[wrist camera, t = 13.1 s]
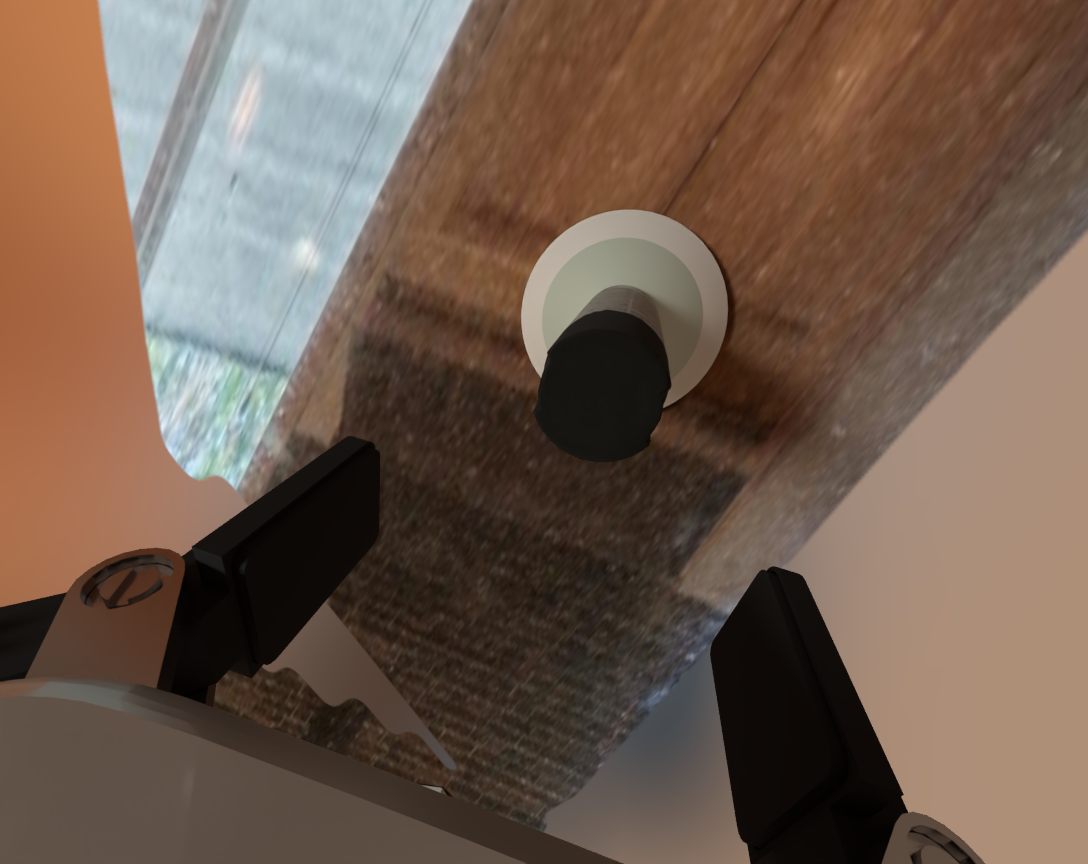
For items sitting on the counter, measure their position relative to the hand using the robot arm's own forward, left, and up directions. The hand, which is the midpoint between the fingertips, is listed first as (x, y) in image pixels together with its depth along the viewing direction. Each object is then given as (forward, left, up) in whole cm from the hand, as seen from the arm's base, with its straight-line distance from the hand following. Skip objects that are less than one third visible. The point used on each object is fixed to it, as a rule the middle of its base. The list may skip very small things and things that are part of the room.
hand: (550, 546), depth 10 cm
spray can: (0, 0, -30) cm, 30 cm away
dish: (0, 0, -31) cm, 31 cm away
